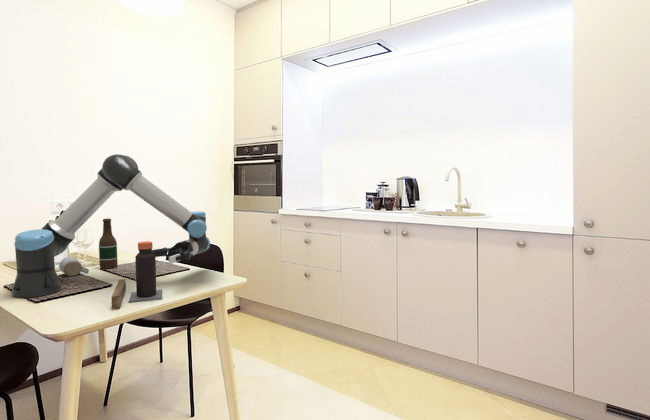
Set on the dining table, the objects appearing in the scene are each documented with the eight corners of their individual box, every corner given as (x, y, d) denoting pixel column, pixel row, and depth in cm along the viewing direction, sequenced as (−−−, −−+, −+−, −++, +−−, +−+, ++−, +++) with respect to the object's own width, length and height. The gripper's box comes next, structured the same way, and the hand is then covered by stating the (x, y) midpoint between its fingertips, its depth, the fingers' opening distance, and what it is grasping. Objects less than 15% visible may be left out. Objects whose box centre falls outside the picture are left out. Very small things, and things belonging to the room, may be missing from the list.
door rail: (111, 309, 129) (111, 296, 129) (119, 290, 149) (118, 279, 149) (119, 308, 130) (119, 295, 130) (126, 290, 150) (125, 279, 150)
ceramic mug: (64, 278, 166) (64, 260, 166) (59, 274, 172) (58, 257, 171) (91, 274, 174) (91, 257, 174) (85, 270, 180) (85, 254, 179)
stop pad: (128, 302, 136) (128, 301, 136) (131, 293, 146) (131, 292, 146) (162, 299, 140) (162, 297, 140) (162, 290, 150) (162, 289, 150)
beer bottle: (101, 266, 188) (99, 218, 186) (119, 265, 190) (117, 217, 188) (97, 269, 181) (95, 219, 178) (115, 269, 183) (114, 219, 181)
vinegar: (137, 293, 145) (135, 241, 143) (156, 291, 148) (155, 240, 146) (136, 298, 139) (134, 244, 137) (156, 296, 141) (155, 243, 140)
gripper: (211, 259, 165) (183, 271, 144) (160, 255, 170) (126, 266, 150) (211, 242, 164) (182, 251, 144) (160, 239, 170) (125, 248, 149)
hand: (153, 259), depth 147 cm, fingers open, 13 cm apart
